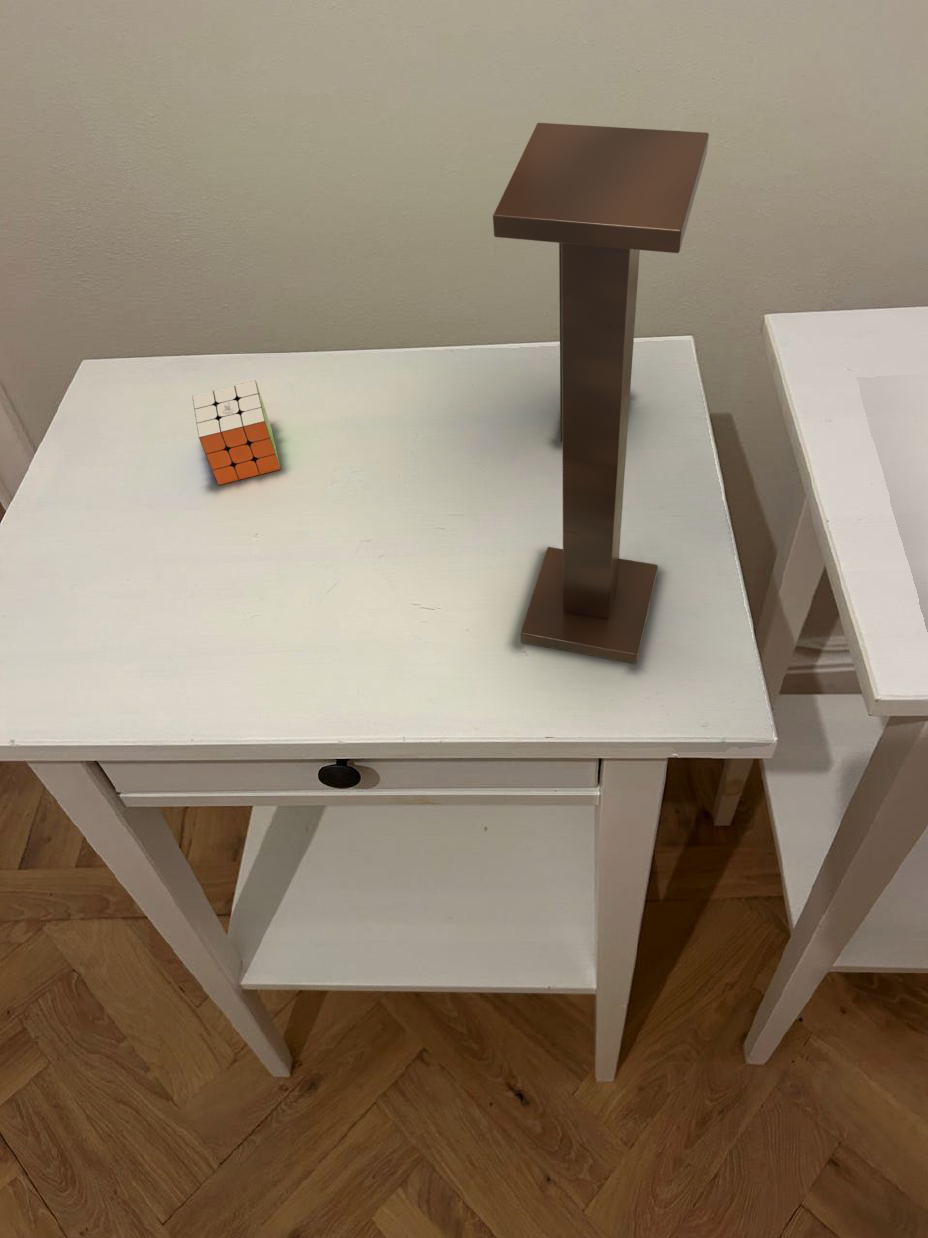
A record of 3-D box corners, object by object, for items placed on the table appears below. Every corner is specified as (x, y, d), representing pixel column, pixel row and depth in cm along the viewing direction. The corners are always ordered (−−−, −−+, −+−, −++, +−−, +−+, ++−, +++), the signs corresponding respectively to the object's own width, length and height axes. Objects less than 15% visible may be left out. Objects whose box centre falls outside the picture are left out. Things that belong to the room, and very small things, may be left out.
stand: (657, 573, 65) (709, 131, 41) (636, 664, 61) (681, 230, 37) (547, 555, 67) (537, 121, 43) (520, 642, 63) (491, 214, 39)
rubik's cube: (272, 428, 78) (256, 379, 74) (280, 470, 75) (265, 421, 71) (211, 443, 77) (191, 394, 73) (217, 485, 74) (197, 437, 70)
